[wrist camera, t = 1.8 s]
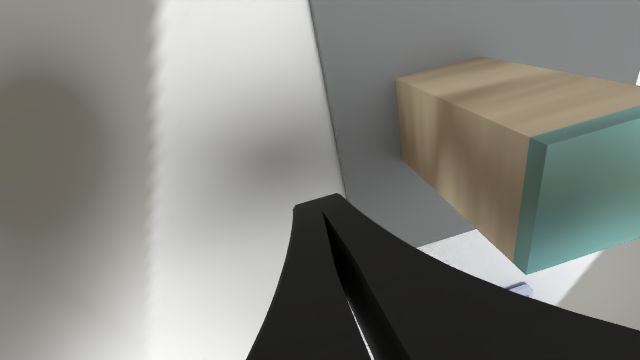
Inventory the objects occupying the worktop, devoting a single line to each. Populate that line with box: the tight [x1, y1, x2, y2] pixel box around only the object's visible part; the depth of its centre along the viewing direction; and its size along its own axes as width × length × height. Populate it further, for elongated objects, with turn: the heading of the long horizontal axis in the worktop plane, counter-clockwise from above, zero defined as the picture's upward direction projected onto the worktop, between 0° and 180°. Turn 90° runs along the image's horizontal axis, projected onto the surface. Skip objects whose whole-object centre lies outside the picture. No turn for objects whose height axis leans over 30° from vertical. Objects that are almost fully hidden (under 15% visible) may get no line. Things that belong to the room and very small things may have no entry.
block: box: [396, 56, 640, 275], centre depth 12 cm, size 4×4×8 cm
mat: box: [309, 0, 640, 248], centre depth 15 cm, size 16×16×1 cm
